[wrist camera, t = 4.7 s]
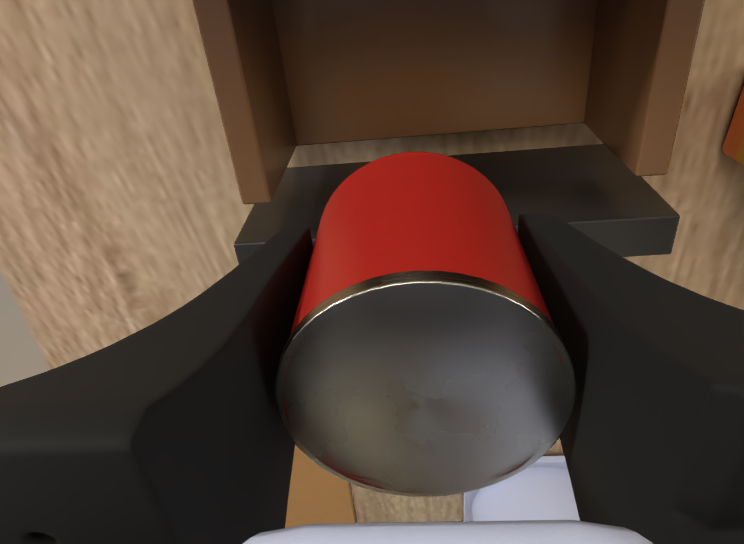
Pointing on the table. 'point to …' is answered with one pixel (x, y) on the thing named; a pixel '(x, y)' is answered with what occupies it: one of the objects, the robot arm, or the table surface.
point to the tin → (422, 336)
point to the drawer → (457, 100)
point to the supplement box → (736, 134)
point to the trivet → (317, 495)
